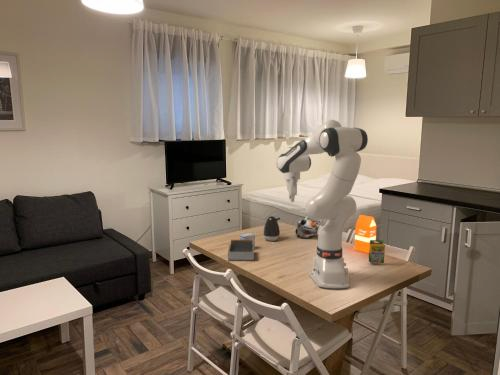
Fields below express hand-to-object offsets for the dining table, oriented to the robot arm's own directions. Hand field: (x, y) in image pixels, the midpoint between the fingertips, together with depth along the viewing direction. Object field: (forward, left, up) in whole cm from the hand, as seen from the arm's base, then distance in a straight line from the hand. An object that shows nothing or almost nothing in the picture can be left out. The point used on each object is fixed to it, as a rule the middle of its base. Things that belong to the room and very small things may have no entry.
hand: (291, 200), depth 214 cm
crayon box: (-19, -43, -29) cm, 55 cm away
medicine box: (+1, +25, -29) cm, 39 cm away
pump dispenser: (+20, +10, -29) cm, 37 cm away
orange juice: (+2, -43, -29) cm, 52 cm away
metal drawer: (-12, +28, -29) cm, 42 cm away
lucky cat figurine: (+28, -13, -30) cm, 43 cm away
